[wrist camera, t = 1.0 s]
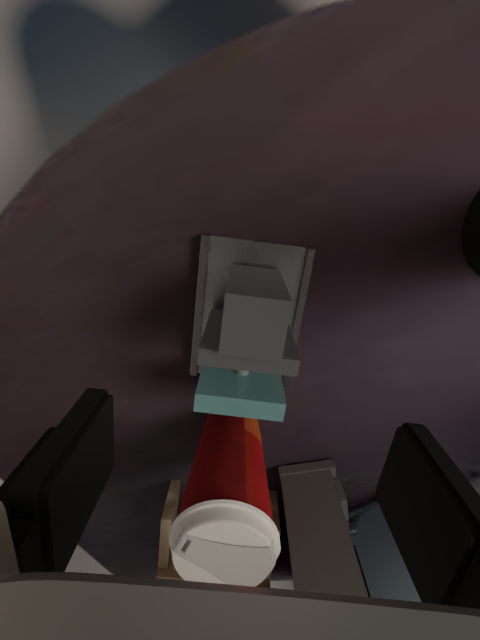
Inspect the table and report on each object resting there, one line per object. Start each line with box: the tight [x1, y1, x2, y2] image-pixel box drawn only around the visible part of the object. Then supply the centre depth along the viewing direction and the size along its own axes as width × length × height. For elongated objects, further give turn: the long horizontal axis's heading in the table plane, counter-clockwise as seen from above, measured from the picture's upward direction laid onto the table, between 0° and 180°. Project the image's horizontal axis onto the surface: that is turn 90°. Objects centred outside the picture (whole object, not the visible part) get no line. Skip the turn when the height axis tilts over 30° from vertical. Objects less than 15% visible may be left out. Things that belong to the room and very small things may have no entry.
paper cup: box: [169, 413, 281, 587], centre depth 29 cm, size 8×8×14 cm
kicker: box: [193, 264, 301, 422], centre depth 26 cm, size 7×11×9 cm, turn 173°
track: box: [190, 234, 316, 387], centre depth 31 cm, size 10×13×1 cm
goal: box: [156, 479, 281, 588], centre depth 37 cm, size 12×8×6 cm
